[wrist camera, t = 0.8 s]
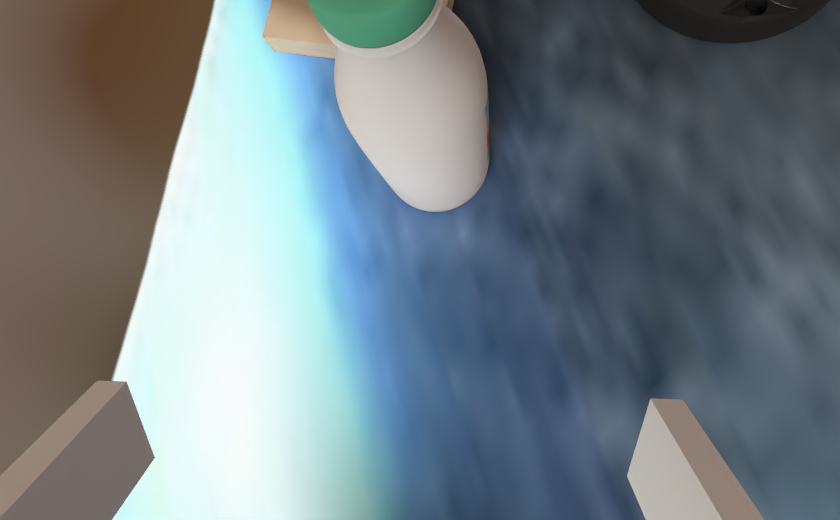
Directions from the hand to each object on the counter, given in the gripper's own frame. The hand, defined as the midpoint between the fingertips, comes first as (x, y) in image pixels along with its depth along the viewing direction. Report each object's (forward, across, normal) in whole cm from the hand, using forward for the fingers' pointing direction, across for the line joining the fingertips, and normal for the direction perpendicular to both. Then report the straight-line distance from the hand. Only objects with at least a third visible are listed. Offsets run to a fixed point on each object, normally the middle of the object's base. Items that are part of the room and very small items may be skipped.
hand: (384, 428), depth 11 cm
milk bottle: (+25, +1, +1) cm, 25 cm away
